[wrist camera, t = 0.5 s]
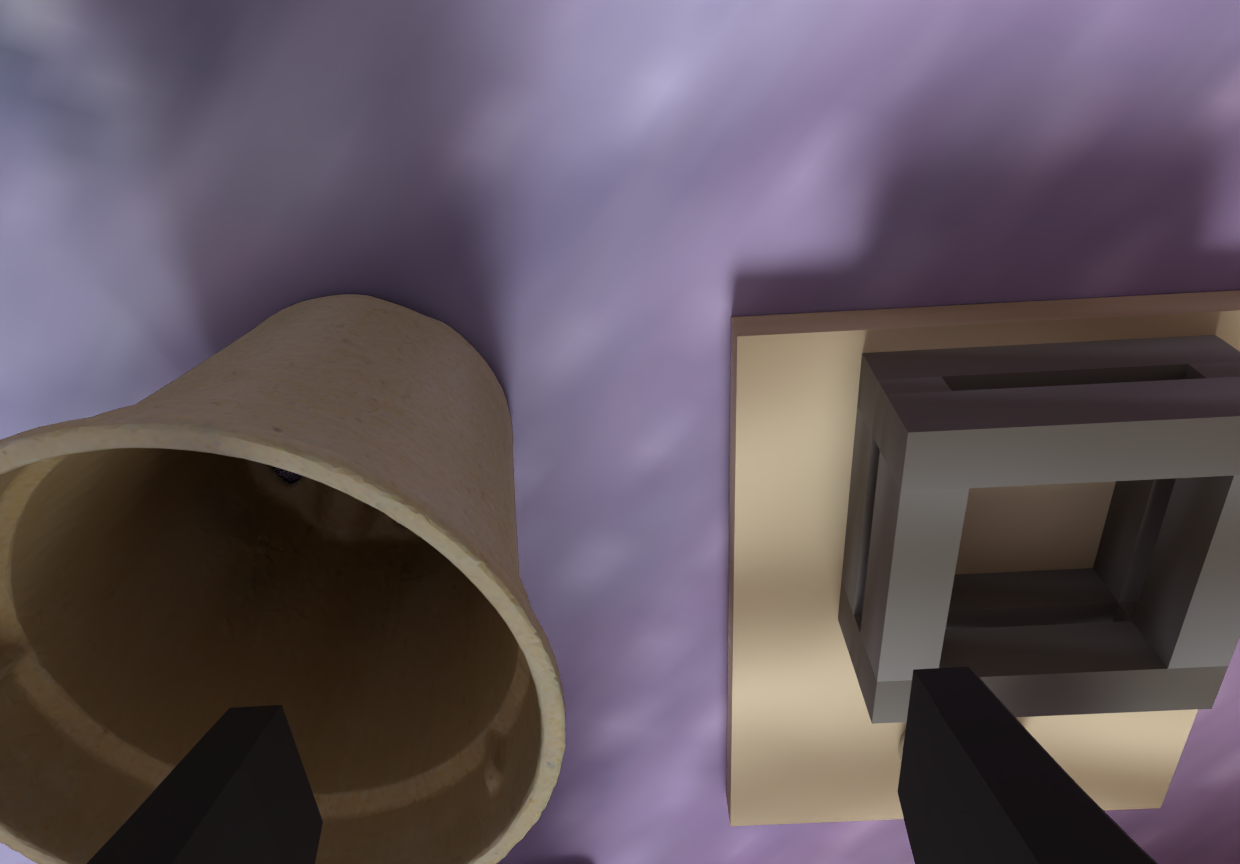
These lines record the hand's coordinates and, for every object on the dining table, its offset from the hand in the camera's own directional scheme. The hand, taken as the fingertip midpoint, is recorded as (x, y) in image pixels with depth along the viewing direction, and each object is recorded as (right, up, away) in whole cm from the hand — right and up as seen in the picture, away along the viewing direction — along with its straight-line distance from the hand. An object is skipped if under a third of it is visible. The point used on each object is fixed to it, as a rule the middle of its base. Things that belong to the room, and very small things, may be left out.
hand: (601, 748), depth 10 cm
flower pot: (-5, +4, +10) cm, 12 cm away
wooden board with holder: (+9, 0, +12) cm, 15 cm away
